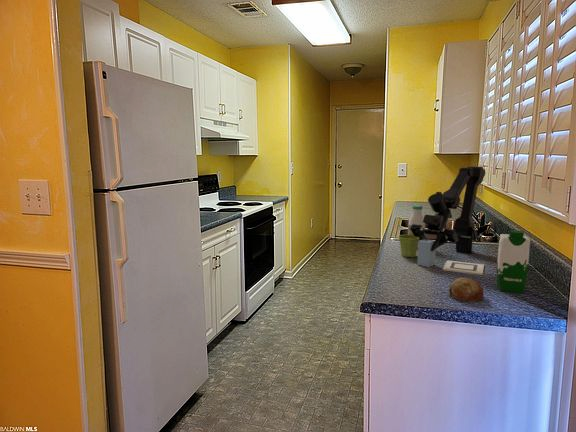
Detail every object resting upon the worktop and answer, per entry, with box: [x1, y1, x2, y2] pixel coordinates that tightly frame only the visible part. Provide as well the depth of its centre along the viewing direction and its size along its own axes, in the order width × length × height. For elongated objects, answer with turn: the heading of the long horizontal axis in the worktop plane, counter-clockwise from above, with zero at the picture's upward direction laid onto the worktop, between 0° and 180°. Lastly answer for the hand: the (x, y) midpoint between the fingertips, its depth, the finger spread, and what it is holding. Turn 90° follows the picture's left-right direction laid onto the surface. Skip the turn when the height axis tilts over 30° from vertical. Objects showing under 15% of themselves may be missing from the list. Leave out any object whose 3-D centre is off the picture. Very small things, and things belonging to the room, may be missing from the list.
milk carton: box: [496, 230, 531, 294], centre depth 137 cm, size 9×9×20 cm
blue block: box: [416, 238, 437, 268], centre depth 167 cm, size 5×5×10 cm
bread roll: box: [448, 277, 485, 303], centre depth 131 cm, size 10×10×8 cm
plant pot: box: [397, 234, 419, 258], centre depth 182 cm, size 9×9×9 cm
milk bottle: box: [407, 204, 426, 249], centre depth 199 cm, size 8×8×20 cm
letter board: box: [442, 260, 485, 276], centre depth 163 cm, size 14×14×1 cm
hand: (425, 249), depth 166 cm, fingers closed on blue block, 5 cm apart
